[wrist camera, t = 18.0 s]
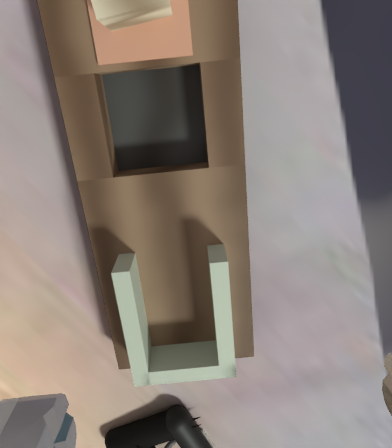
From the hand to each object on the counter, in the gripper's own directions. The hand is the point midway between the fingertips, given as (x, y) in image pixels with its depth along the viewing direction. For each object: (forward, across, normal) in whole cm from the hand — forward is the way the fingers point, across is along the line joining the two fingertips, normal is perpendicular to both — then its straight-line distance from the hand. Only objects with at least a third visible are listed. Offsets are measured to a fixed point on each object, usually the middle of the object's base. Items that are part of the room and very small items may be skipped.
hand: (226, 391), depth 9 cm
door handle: (+26, +8, +39) cm, 47 cm away
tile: (+22, +2, -13) cm, 26 cm away
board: (+25, +3, +1) cm, 25 cm away
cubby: (+22, +3, +12) cm, 25 cm away
